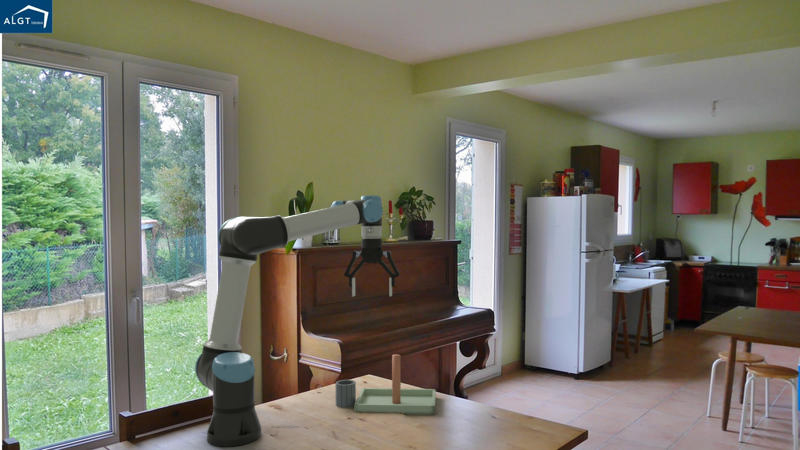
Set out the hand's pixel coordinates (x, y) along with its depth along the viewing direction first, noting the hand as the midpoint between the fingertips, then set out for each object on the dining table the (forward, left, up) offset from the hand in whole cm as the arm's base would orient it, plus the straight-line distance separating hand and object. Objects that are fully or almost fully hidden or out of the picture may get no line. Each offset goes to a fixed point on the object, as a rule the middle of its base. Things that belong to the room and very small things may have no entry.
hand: (372, 295), depth 210 cm
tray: (+10, -16, -35) cm, 39 cm away
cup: (-7, -18, -35) cm, 40 cm away
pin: (+11, -16, -34) cm, 39 cm away
